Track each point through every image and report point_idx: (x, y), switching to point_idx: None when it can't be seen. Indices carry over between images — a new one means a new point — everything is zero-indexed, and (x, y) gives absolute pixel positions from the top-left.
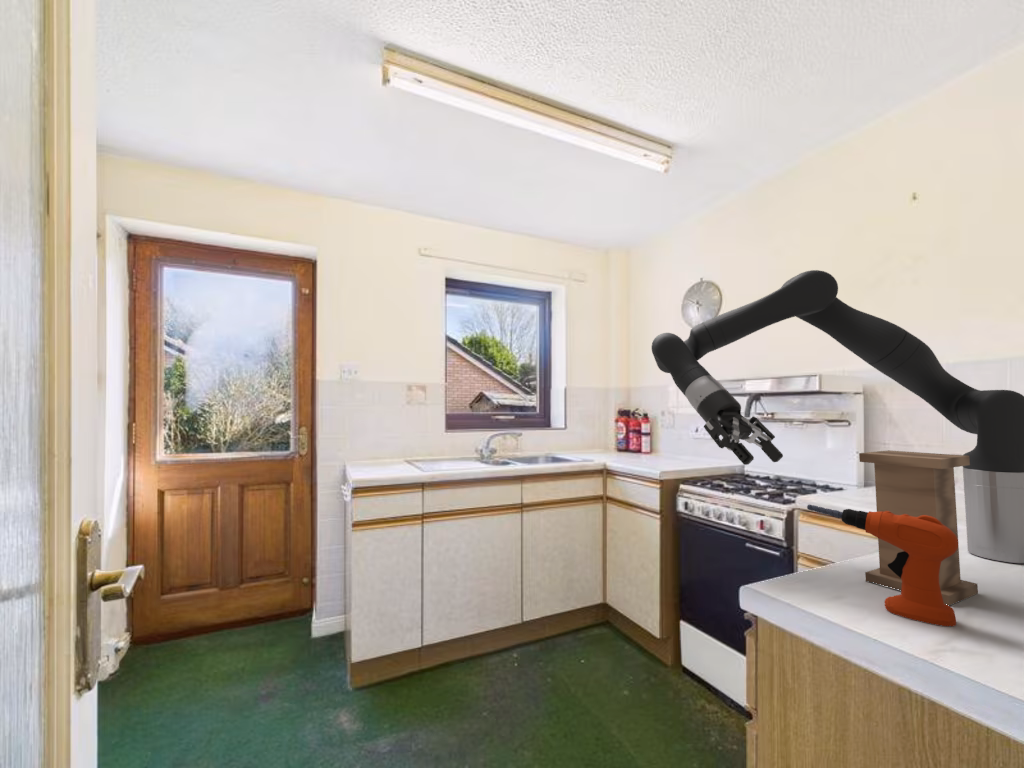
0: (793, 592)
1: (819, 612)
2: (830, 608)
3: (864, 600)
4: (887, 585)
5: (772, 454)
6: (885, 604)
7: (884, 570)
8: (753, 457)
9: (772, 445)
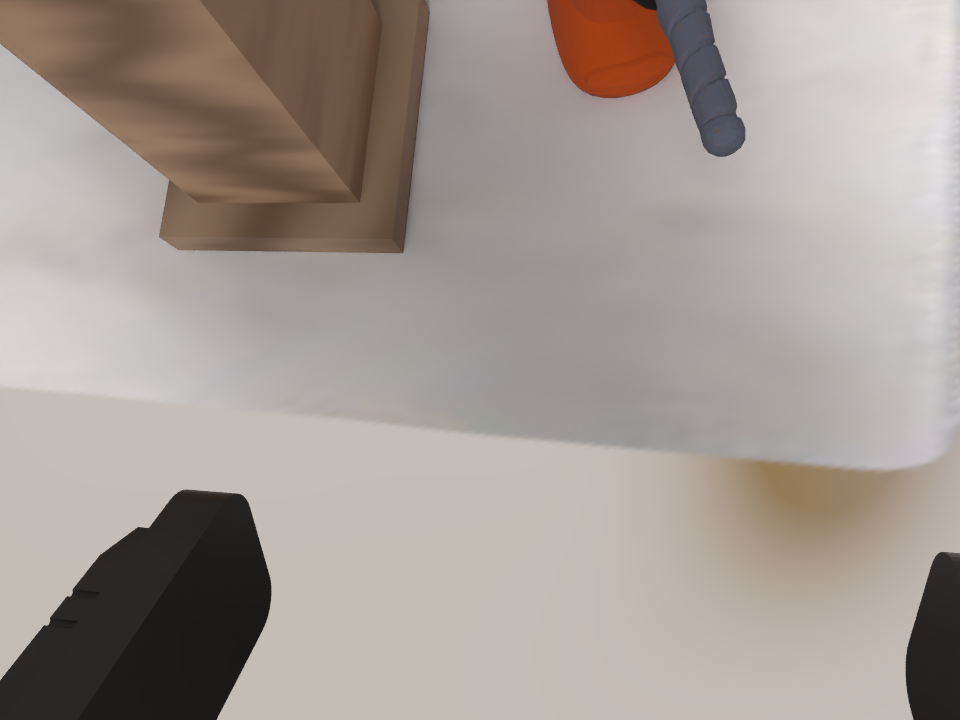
0: (810, 335)
1: (920, 177)
2: (837, 178)
3: (630, 159)
4: (407, 176)
5: (216, 631)
6: (664, 70)
7: (356, 177)
8: (952, 553)
9: (112, 649)
